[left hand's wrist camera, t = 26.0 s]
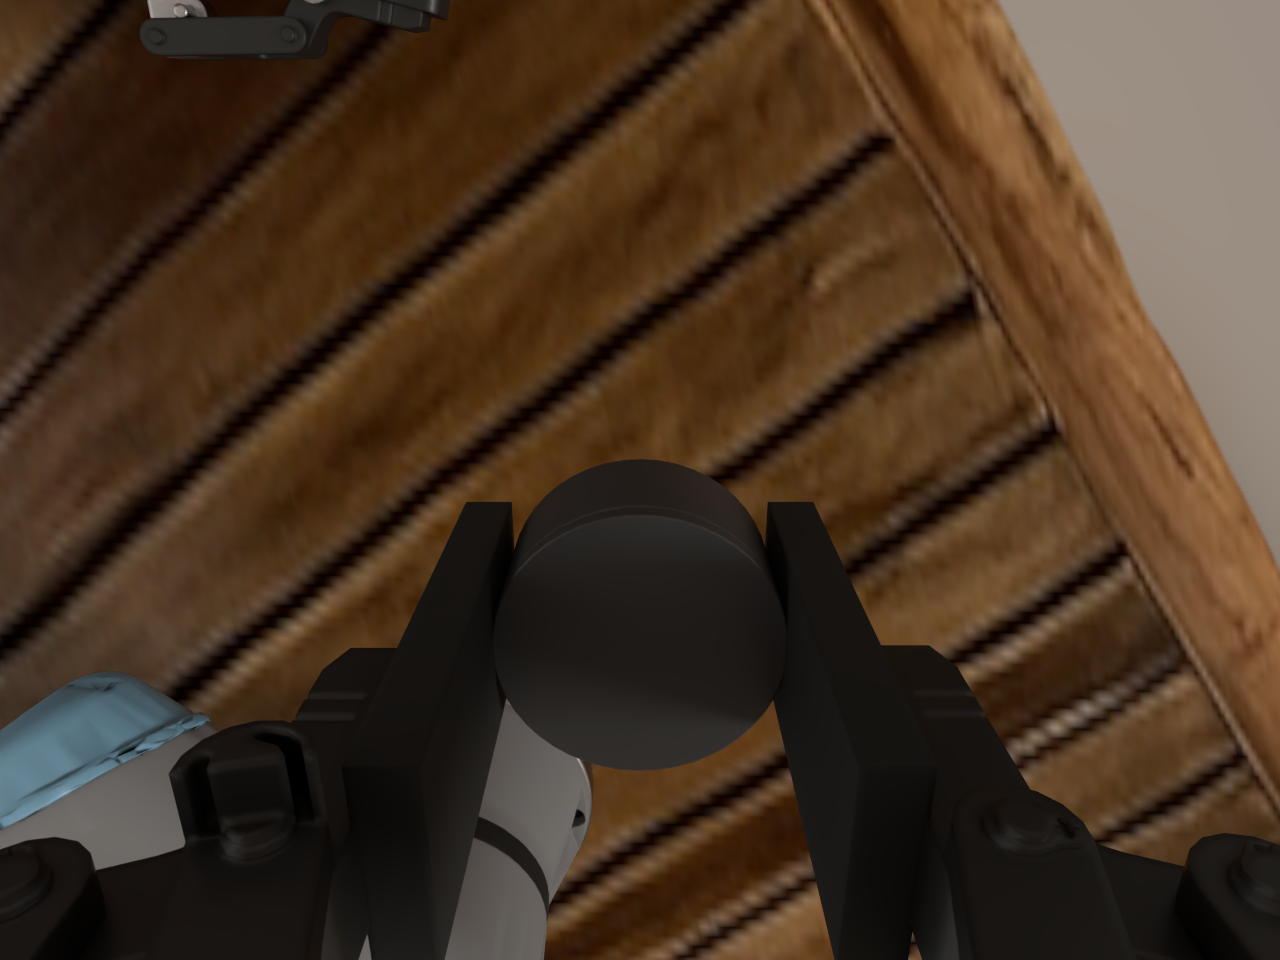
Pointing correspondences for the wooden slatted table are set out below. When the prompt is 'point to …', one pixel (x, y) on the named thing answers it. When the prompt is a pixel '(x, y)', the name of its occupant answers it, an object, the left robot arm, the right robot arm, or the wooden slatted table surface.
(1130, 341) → the wooden slatted table surface
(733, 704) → the cap
